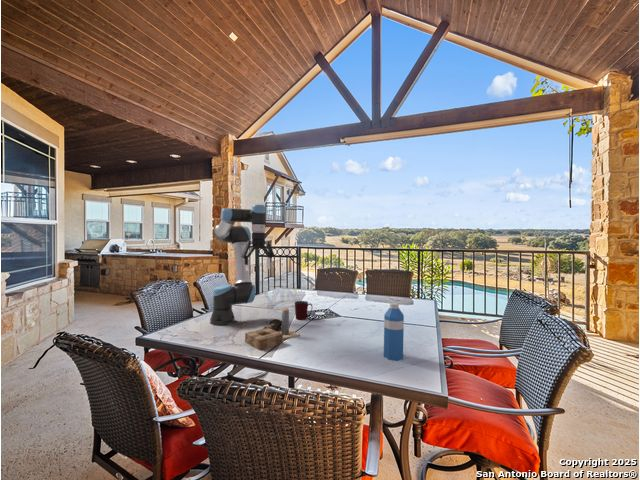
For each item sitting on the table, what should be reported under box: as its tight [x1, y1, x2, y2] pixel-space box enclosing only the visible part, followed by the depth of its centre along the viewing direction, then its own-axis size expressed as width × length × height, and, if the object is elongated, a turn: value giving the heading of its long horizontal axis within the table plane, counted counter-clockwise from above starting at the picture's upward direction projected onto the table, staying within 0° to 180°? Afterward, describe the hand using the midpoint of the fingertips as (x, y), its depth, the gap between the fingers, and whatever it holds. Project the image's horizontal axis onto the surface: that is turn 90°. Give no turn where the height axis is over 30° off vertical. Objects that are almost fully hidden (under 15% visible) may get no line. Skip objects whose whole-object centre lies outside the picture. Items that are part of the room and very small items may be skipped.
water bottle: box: [383, 302, 405, 361], centre depth 141 cm, size 9×9×25 cm
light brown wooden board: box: [277, 329, 301, 341], centre depth 170 cm, size 12×12×1 cm
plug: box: [281, 307, 290, 335], centre depth 169 cm, size 4×4×14 cm
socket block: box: [244, 327, 284, 351], centre depth 156 cm, size 14×14×5 cm
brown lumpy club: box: [262, 318, 282, 331], centre depth 176 cm, size 18×7×6 cm, turn 161°
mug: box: [294, 300, 313, 321], centre depth 203 cm, size 12×9×11 cm
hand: (258, 269), depth 169 cm, fingers open, 13 cm apart
